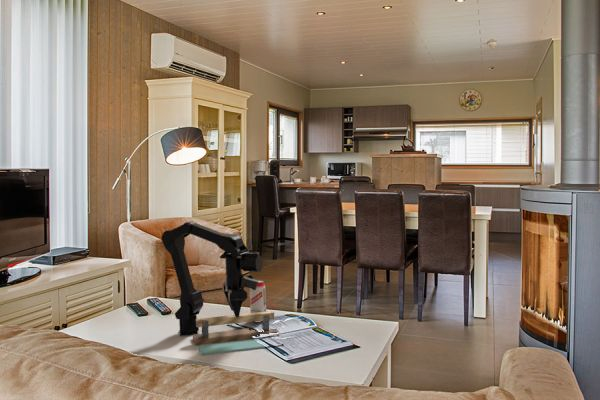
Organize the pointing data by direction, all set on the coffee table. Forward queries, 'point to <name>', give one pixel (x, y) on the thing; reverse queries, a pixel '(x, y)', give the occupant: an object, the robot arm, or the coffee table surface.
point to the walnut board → (228, 336)
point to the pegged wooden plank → (264, 326)
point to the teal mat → (229, 347)
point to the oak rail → (234, 319)
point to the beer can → (258, 298)
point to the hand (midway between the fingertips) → (235, 313)
